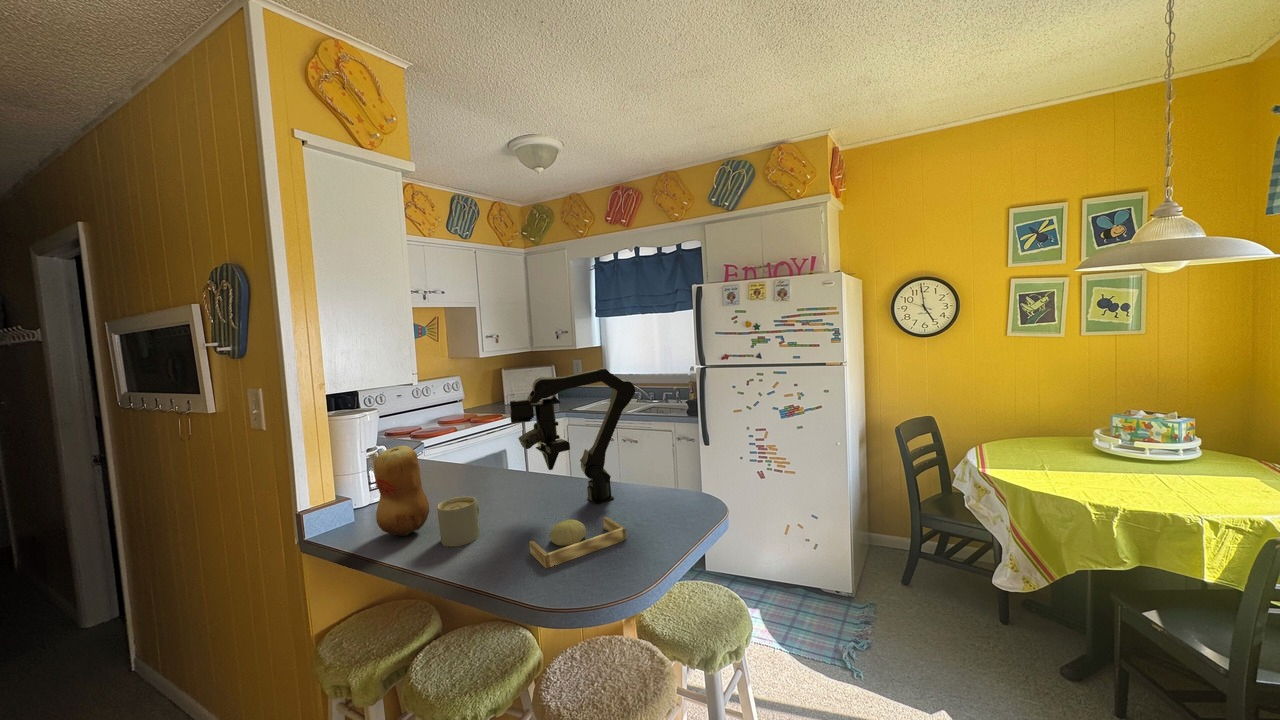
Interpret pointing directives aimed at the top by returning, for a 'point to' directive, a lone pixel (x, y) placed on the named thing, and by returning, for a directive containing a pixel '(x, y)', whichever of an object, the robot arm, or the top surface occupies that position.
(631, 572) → the top surface
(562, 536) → the sea urchin shell
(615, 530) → the box
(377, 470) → the butternut squash
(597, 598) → the top surface
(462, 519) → the coffee mug
